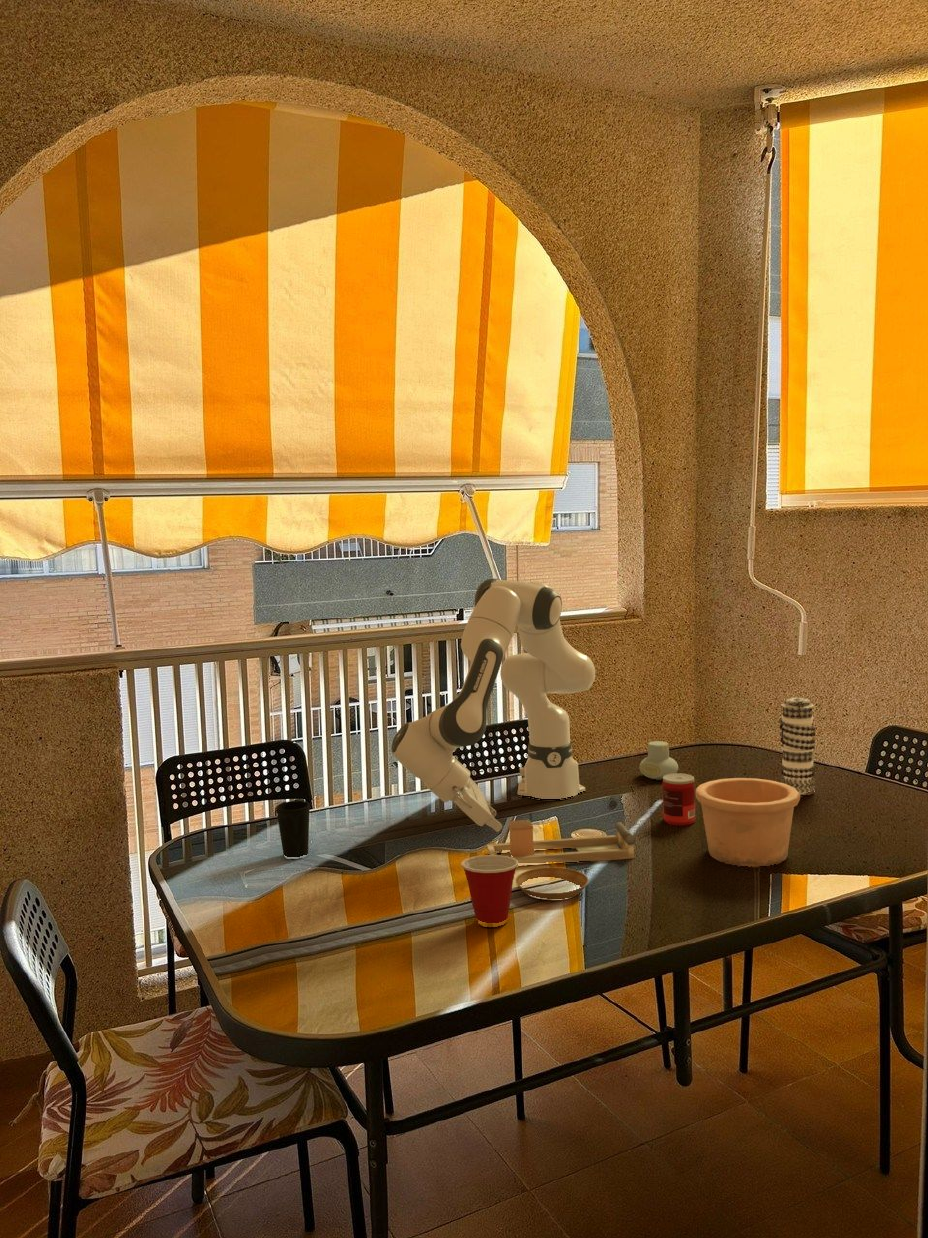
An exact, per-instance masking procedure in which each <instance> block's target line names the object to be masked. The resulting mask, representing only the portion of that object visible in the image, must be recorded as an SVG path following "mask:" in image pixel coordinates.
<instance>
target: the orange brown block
mask: <svg viewBox="0 0 928 1238" xmlns="http://www.w3.org/2000/svg"><path fill="white" fill-rule="evenodd" d="M508 824H509V825H508V826H509V843H510V852H511V855H512V856H513V857H514V856H528V855H535V854H534V853H535V851H534V848H533V841H534V826H533V824H532V822H531V820H530V819H521V820H509V821H508Z"/></svg>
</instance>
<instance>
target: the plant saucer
mask: <svg viewBox="0 0 928 1238" xmlns="http://www.w3.org/2000/svg"><path fill="white" fill-rule="evenodd" d="M538 877H555V878H561V879H564V880H567V881H569V882H572V883H574V884H576V885H580V887H581V888H579V889H576V890H573V891H569V892H563V893H540V892H534V891H530V890H527V889H524V888H522V887H521V886H520V885H522V883H523V882H525V881H527V880H528V879H533V878H538ZM515 883H516V885H517V886H518V888H519V889H520V890H521V892H523V891H524V892H525V893H524V894H526V893H527V894H529V895H532V896H536V897H540V898H547V899H565V898H570V897H573V896H575V897H576V896H578V895H579V894H580V893H581V892H582V891H583V890H584V889H585V888H586V886H587V885H588V883H589V877H588V876H587V875H586V874H585V873H583V872H581V871H578V870H576V869H573V868H566V867H554V866H551V867H539V868H533V869H530V870H526V871H524V872H522V873H520V874H518V875H517V876H516V878H515ZM527 894H526V895H527ZM577 894H578V895H577ZM573 898H574V897H573ZM570 899H571V898H570Z"/></svg>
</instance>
